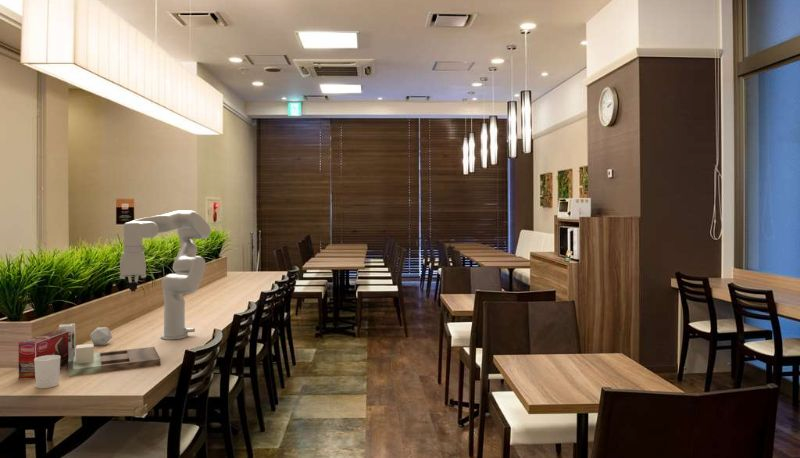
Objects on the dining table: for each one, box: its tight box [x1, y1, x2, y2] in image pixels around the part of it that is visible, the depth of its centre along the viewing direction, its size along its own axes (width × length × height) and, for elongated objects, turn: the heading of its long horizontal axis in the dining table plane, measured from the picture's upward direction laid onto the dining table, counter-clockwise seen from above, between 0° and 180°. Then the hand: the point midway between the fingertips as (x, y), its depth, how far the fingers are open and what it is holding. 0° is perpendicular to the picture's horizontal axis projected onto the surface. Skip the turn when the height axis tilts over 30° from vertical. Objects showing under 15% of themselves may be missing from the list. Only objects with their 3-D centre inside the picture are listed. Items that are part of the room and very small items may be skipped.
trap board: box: [67, 346, 161, 377], centre depth 221 cm, size 32×23×6 cm
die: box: [89, 326, 113, 346], centre depth 253 cm, size 8×9×10 cm
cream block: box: [75, 343, 95, 364], centre depth 215 cm, size 6×6×6 cm
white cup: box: [34, 355, 61, 389], centre depth 192 cm, size 8×8×10 cm
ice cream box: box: [18, 330, 69, 380], centre depth 210 cm, size 20×6×13 cm, turn 1°
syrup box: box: [58, 323, 76, 355], centre depth 227 cm, size 6×6×14 cm
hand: (133, 291), depth 239 cm, fingers closed
